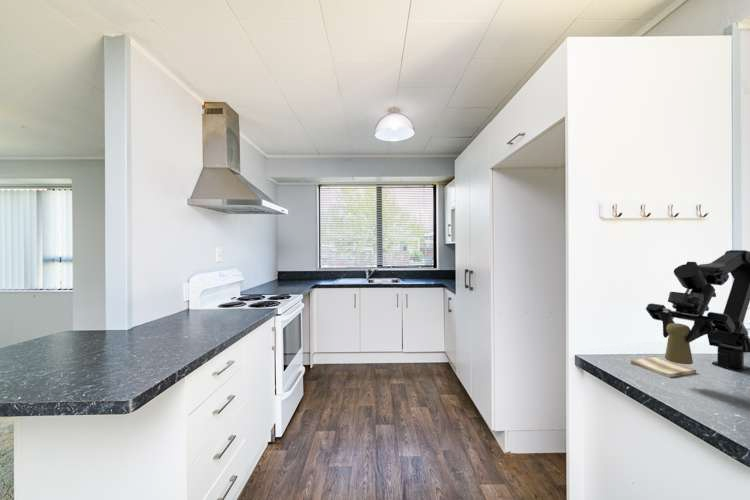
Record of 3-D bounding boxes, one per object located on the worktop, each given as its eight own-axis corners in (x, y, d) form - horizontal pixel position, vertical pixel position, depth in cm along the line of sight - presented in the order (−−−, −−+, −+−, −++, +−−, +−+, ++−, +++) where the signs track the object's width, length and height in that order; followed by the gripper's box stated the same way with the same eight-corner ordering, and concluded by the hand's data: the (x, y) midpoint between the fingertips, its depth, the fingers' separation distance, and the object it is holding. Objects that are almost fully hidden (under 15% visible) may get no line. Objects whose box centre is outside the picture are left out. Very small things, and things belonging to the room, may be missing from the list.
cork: (698, 365, 88) (698, 327, 88) (673, 363, 90) (673, 326, 89) (683, 357, 94) (683, 321, 94) (659, 356, 95) (659, 321, 95)
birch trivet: (655, 359, 109) (655, 356, 109) (695, 372, 98) (695, 369, 98) (630, 363, 107) (630, 360, 107) (669, 377, 95) (669, 374, 95)
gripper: (648, 279, 101) (627, 316, 98) (729, 285, 84) (707, 331, 80) (663, 300, 104) (643, 336, 101) (744, 310, 87) (723, 355, 83)
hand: (675, 339), depth 91 cm, fingers closed on cork, 5 cm apart
